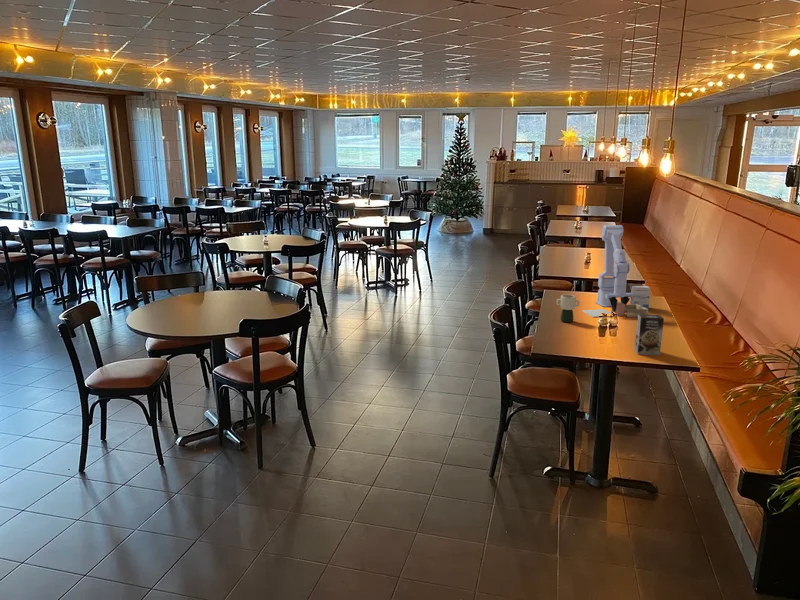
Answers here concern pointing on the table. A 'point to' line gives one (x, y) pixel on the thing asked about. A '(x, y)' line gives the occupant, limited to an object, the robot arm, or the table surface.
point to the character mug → (567, 307)
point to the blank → (620, 309)
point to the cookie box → (649, 334)
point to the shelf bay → (635, 310)
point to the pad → (595, 312)
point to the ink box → (640, 296)
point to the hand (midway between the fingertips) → (618, 311)
